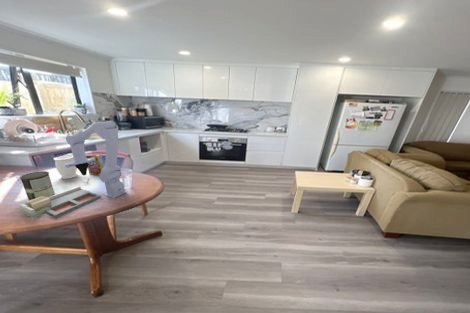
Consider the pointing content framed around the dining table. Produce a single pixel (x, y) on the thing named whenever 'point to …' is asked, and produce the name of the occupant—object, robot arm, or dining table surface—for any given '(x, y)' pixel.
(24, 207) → the board
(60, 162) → the jar
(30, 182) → the coffee can
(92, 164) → the candy box
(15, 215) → the dining table surface
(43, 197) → the maple block
